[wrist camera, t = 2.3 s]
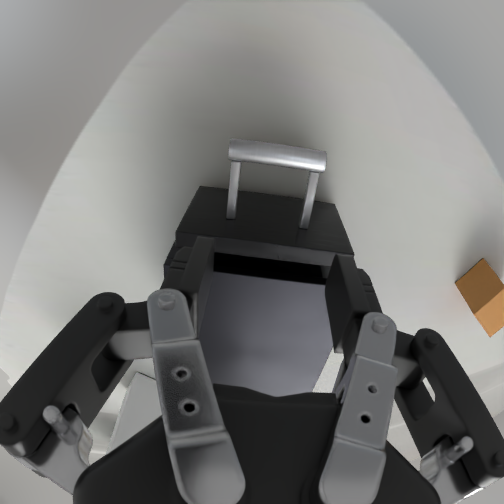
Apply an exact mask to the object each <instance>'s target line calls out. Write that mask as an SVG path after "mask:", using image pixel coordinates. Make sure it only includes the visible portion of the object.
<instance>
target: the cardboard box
mask: <svg viewBox="0 0 504 504" xmlns="http://www.w3.org/2000/svg"><path fill="white" fill-rule="evenodd" d="M455 284H456V286H457V288H458V289H459V291H460V292H461V294H462V296H463V297H464V299H465V301H466V302H467V304H468V306H469V307H470V309H471V311H472V312H473V314H474V316H475V317H476V318H477V320H478V321H479V323H480V324H481V325H482V327H483V328H484V330H485V331H486V333H487V334H488V335H489V337H491V336H492V335H494V334H495V333H496V332H497V331H499V330H500V329H501V328H502V327H503V326H504V284H503V283H502V282H501V280H500V279H499V278H498V276H497V275H496V274H495V272H494V271H493V270H492V268H491V267H490V266H489V265H488V263H487V262H486V261H485V260H484V258H482V259H481V260H480V261H479V262H478V263H477V264H476V265H475V266H474V267H473V268H472V269H470V270H469V271H468V272H467V273H466V274H465V275H464V276H463V277H461V278H460V279H459V280H458V281H457V282H456V283H455Z"/></svg>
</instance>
